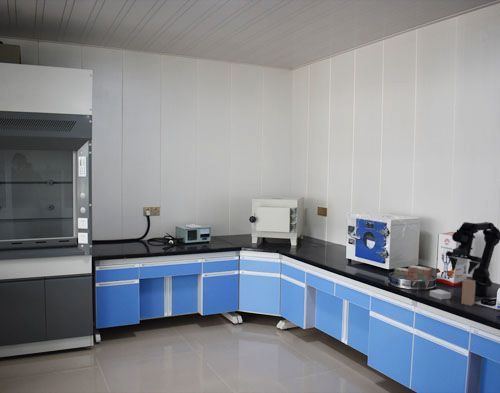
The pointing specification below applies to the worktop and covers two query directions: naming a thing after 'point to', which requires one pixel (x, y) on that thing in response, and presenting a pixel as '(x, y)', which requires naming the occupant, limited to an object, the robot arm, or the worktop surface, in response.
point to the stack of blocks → (414, 273)
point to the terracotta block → (468, 292)
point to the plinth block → (440, 294)
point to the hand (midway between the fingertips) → (460, 272)
